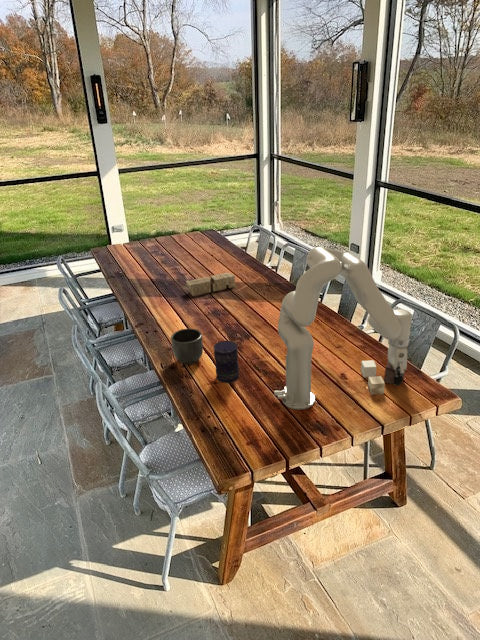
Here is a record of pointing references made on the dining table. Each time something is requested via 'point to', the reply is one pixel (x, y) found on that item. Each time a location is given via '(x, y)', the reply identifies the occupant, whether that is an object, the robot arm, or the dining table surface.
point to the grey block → (368, 368)
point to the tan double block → (211, 284)
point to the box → (391, 374)
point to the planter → (187, 345)
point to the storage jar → (226, 361)
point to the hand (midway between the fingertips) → (394, 377)
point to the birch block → (376, 385)
